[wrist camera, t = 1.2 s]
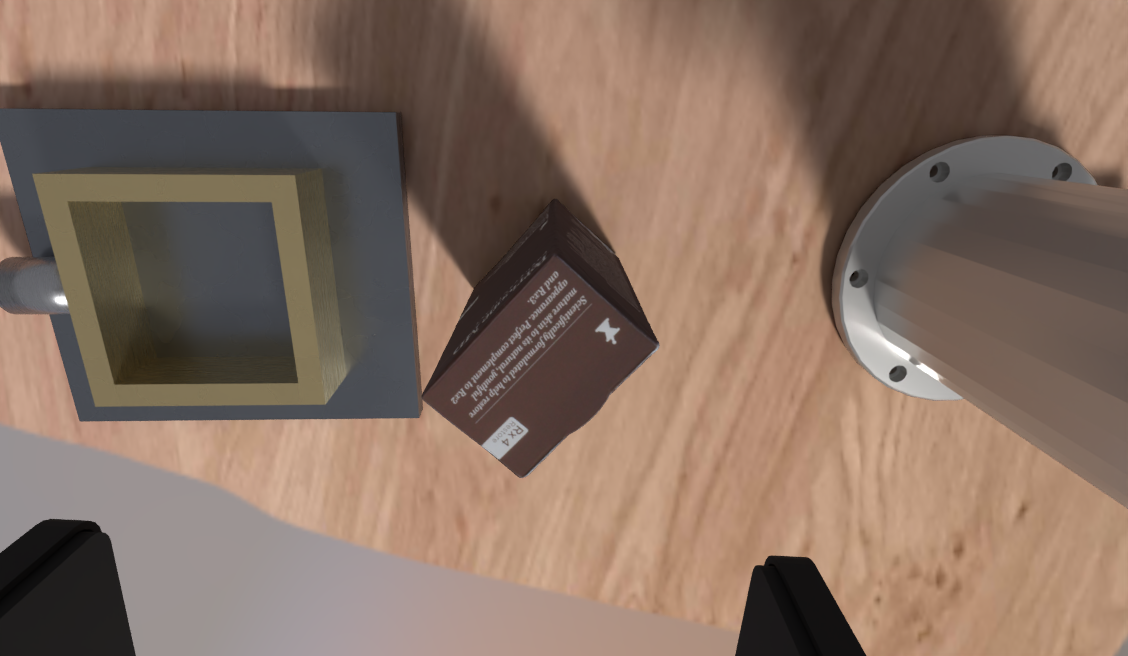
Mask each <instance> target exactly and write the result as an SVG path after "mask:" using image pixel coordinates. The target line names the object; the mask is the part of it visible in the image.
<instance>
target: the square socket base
mask: <svg viewBox="0 0 1128 656" xmlns="http://www.w3.org/2000/svg"><path fill="white" fill-rule="evenodd" d="M0 142H1V145H2V149H3V152H4V156H5V160H6V163H7V167H8V170H9V174H10V177H11V181H12V184H13V188H14V191H15V195H16V198H17V202H18V205H19V209H20V212H21V216H22V219H23V223H24V227H25V230H26V234H27V237H28V241H29V244H30V248H31V251H32V255H33V257H10V258H6V259H4V260H3V261H1V262H0V307H1V308H3V309H4V310H5V311H7V312H9V313H12V314H49V315H50V318H51V322H52V325H53V329H54V332H55V336H56V339H57V343H58V346H59V350H60V353H61V357H62V361H63V364H64V368H65V371H66V375H67V378H68V382H69V385H70V389H71V392H72V396H73V399H74V403H75V406H76V410H77V413H78V417H79V420H80V421H167V420H267V419H366V418H419V417H420V415H421V412H422V410H423V403H422V390H421V376H420V363H419V350H418V336H417V323H416V310H415V296H414V283H413V269H412V256H411V243H410V229H409V216H408V203H407V189H406V176H405V162H404V149H403V136H402V122H401V112H303V111H200V110H98V109H0Z"/></svg>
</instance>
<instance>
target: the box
mask: <svg viewBox="0 0 1128 656" xmlns="http://www.w3.org/2000/svg"><path fill="white" fill-rule="evenodd" d="M658 348H659V342H658V341H657V338H656V336H655V335H654V333H653V330H652V329H651V326H650V324H649V323H648V321H647V318H646V316H645V314H644V312H643V310H642V307H641V306H640V303H639V301H638V299H637V296H636V294H635V292H634V290H633V288H632V286H631V283H630V281H629V279H628V277H627V275H626V273H625V271H624V268H623V266H622V264H621V262H620V260H619V258H618V257H617V256H616V255H615V254H614V253H613V252H612V251H611V250H610V248H609V247H608V246H607V245H605V244H604V243H603V242H602V241H601V240H600V239H599V238H598V237H597V236H595V235H594V234H593V232H592V231H590V230H589V229H588V228H587V227H586V226H584V225H583V224H582V223H581V222H580V221H579V220H578V219H577V218H576V217H575V216H574V215H573V214H571V213H570V212H569V211H568V210H567V209H566V207H565V206H563V205H562V204H561V203H560V202H559V201H558V200H557V199H554V200H552V201H551V202H550V204H549V205H548V206H547V207H546V208H545V210H544V211H543V212H542V213H541V214H540V215H539V216H538V218H537V219H536V220H535V221H534V222H533V224H532V225H531V226H530V227H529V228H528V229H527V231H526V232H525V233H524V234H523V235H522V236H521V237H520V239H519V240H518V241H517V242H516V243H515V244H514V245H513V247H512V248H511V249H510V250H509V251H508V252H507V254H506V255H505V256H504V257H503V258H502V259H501V260H500V261H499V262H498V264H497V265H496V266H495V267H494V268H493V269H492V270H491V271H490V272H489V273H488V274H487V275H486V276H485V277H484V278H483V279H482V280H481V281H480V282H479V283H478V284H477V285H476V287H475V288H474V290H473V292H472V294H471V296H470V298H469V300H468V302H467V304H466V306H465V308H464V311H463V313H462V314H461V316H460V319H459V321H458V323H457V325H456V328H455V330H454V332H453V334H452V336H451V338H450V340H449V342H448V344H447V346H446V348H445V350H444V352H443V354H442V356H441V358H440V360H439V362H438V365H437V367H436V369H435V371H434V373H433V375H432V377H431V379H430V381H429V383H428V385H427V386H426V388H425V390H424V392H423V394H422V399H423V400H424V401H425V402H426V403H427V404H428V405H430V406H431V407H432V408H433V409H435V410H436V411H437V412H438V413H440V414H441V415H442V416H443V417H444V418H446V419H447V420H448V421H450V422H451V423H452V424H453V425H455V426H456V427H457V428H458V429H460V430H461V431H462V432H464V433H465V434H466V435H468V436H469V437H470V438H471V439H473V440H474V441H475V442H477V443H478V444H479V445H481V446H482V447H483V448H484V449H485V450H487V451H488V452H489V453H490V454H492V455H493V456H494V457H495V458H496V459H498V460H499V461H500V462H501V463H502V464H504V465H505V466H506V467H507V468H508V469H509V470H511V471H512V472H513V473H514V474H515V475H517V476H518V477H519V478H523V477H526V476H528V475H529V474H530V473H531V472H532V471H533V470H534V469H535V468H536V467H537V466H538V465H539V464H540V463H541V462H542V461H543V460H544V459H545V458H546V457H547V456H548V455H549V454H550V453H551V452H552V451H553V450H554V449H555V448H556V447H557V446H558V445H559V444H560V443H561V442H562V441H563V440H564V439H565V438H566V437H567V436H568V435H569V434H571V433H573V432H575V431H576V430H578V429H580V428H581V427H582V426H584V425H585V424H586V423H587V422H588V421H590V420H591V419H592V418H593V417H594V416H595V415H596V414H597V413H598V411H599V410H600V409H601V408H602V406H603V405H604V404H605V402H606V400H607V399H608V397H609V395H610V394H611V393H613V392H614V391H615V390H616V389H617V388H618V387H619V386H620V385H621V384H622V383H623V382H624V381H625V380H626V379H627V378H628V377H629V376H630V375H631V374H632V373H633V372H634V371H635V370H636V369H637V368H639V367H640V366H641V365H642V364H643V363H644V362H645V361H646V360H647V359H648V358H649V357H650V356H651V355H652V354H653V353H654V352H656V351H657V350H658Z"/></svg>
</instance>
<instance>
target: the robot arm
mask: <svg viewBox="0 0 1128 656" xmlns="http://www.w3.org/2000/svg"><path fill="white" fill-rule="evenodd" d="M931 168H932V171H931V173H930V170H931ZM853 272H854V275H853V277H852V278H850V276H851V274H852V273H853ZM832 307H833V313H834V318H835V323H836V327H837V329H838V332H839V334H840V336H841V339H842V341H843V343H844V345H845V347H846V348H847V350H848V351H849V352H850V354H851V355H852V357H853V358H854V359H855V361H856V362H857V363H858V364H859V365H860V366H861V367H863V368H864V369H865V370H866V371H867V372H868V373H869V374H871V375H872V376H873V377H874V378H876V379H877V380H878V381H880V382H881V383H883V384H884V385H885V386H887V387H889V388H891V389H893V390H896V391H898V392H901V393H903V394H906V395H908V396H911V397H916V398H921V399H927V400H933V401H945V400H962V399H966V400H967V401H969V402H970V403H972V404H973V405H974V406H976V407H977V408H979V409H980V410H982V411H983V412H985V413H986V414H988V415H989V416H991V417H992V418H994V419H995V420H997V421H998V422H1000V423H1001V424H1003V425H1004V426H1006V427H1007V428H1009V429H1010V430H1012V431H1013V432H1015V433H1016V434H1018V435H1019V436H1020V437H1022V438H1023V439H1025V440H1026V441H1028V442H1029V443H1031V444H1032V445H1034V446H1035V447H1037V448H1038V449H1040V450H1041V451H1043V452H1044V453H1046V454H1047V455H1049V456H1050V457H1052V458H1053V459H1055V460H1056V461H1058V462H1059V463H1061V464H1062V465H1064V466H1065V467H1066V468H1068V469H1069V470H1071V471H1072V472H1074V473H1075V474H1077V475H1078V476H1080V477H1081V478H1083V479H1084V480H1086V481H1087V482H1089V483H1090V484H1092V485H1093V486H1095V487H1096V488H1098V489H1099V490H1101V491H1102V492H1104V493H1105V494H1107V495H1108V496H1110V497H1111V498H1112V499H1114V500H1115V501H1117V502H1118V503H1120V504H1121V505H1123V506H1124V507H1126V508H1127V509H1128V189H1122V188H1114V187H1106V186H1099V185H1097V183H1096V181H1095V179H1094V177H1093V176H1092V175H1091V174H1090V173H1089V172H1088V171H1087V169H1086V168H1085V167H1084V166H1083V165H1082V164H1081V163H1080V162H1079V161H1078V160H1077V159H1076V158H1074V157H1072V156H1071V155H1069V154H1068V153H1066V152H1065V151H1063V150H1062V149H1060V148H1059V147H1057V146H1054V145H1051V144H1048V143H1045V142H1043V141H1040V140H1037V139H1033V138H1024V137H1016V136H977V137H972V138H967V139H961V140H956V141H953V142H950V143H948V144H945V145H942V146H940V147H937V148H935V149H932V150H930V151H927V152H926V153H924V154H922V155H921V156H919V157H917V158H916V159H914V160H912V161H911V162H909V163H907V164H906V165H904V166H902V167H901V168H900V169H899V170H898V171H897V172H895V173H894V174H893V175H892V176H891V177H889V178H888V179H887V180H886V181H885V182H883V183H882V184H881V185H880V186H879V187H878V189H877V190H876V191H875V192H874V193H873V194H872V195H871V197H870V198H869V199H868V200H867V201H866V202H865V204H864V205H863V206H862V207H861V209H860V211H859V212H858V214H857V215H856V217H855V219H854V220H853V222H852V224H851V225H850V227H849V228H848V230H847V232H846V235H845V237H844V240H843V242H842V245H841V247H840V250H839V252H838V255H837V259H836V264H835V269H834V274H833V279H832ZM0 656H136V655H135V650H134V646H133V641H132V637H131V632H130V627H129V623H128V618H127V613H126V609H125V604H124V600H123V595H122V591H121V586H120V581H119V577H118V572H117V568H116V563H115V558H114V553H113V549H112V544H111V540H110V538H109V536H108V535H107V534H106V533H102V532H101V529H100V527H99V526H98V525H97V524H96V523H95V522H92V521H81V520H61V519H49V520H44V521H42V522H40V523H39V524H37V525H35V526H34V527H33V528H32V529H30V530H29V531H28V532H27V533H25V534H24V535H23V536H21V537H20V538H19V539H18V540H16V541H15V542H14V543H12V544H11V545H10V546H9V547H8V548H6V549H5V550H4V551H2V552H1V553H0ZM735 656H866V654H865V653H864V651H863V649H862V647H861V645H860V644H859V642H858V640H857V638H856V637H855V635H854V633H853V631H852V629H851V628H850V626H849V624H848V622H847V621H846V619H845V617H844V615H843V614H842V612H841V610H840V608H839V606H838V605H837V603H836V601H835V599H834V598H833V596H832V594H831V592H830V590H829V589H828V587H827V585H826V583H825V582H824V580H823V578H822V576H821V574H820V573H819V571H818V569H817V567H816V566H815V564H814V563H813V561H812V560H811V559H809V558H807V557H790V556H768V558H767V559H766V561H765V564H764V566H762V565H757V566H755V567H754V569H753V572H752V577H751V582H750V587H749V591H748V596H747V601H746V606H745V611H744V616H743V620H742V625H741V630H740V635H739V640H738V645H737V650H736V654H735Z"/></svg>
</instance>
